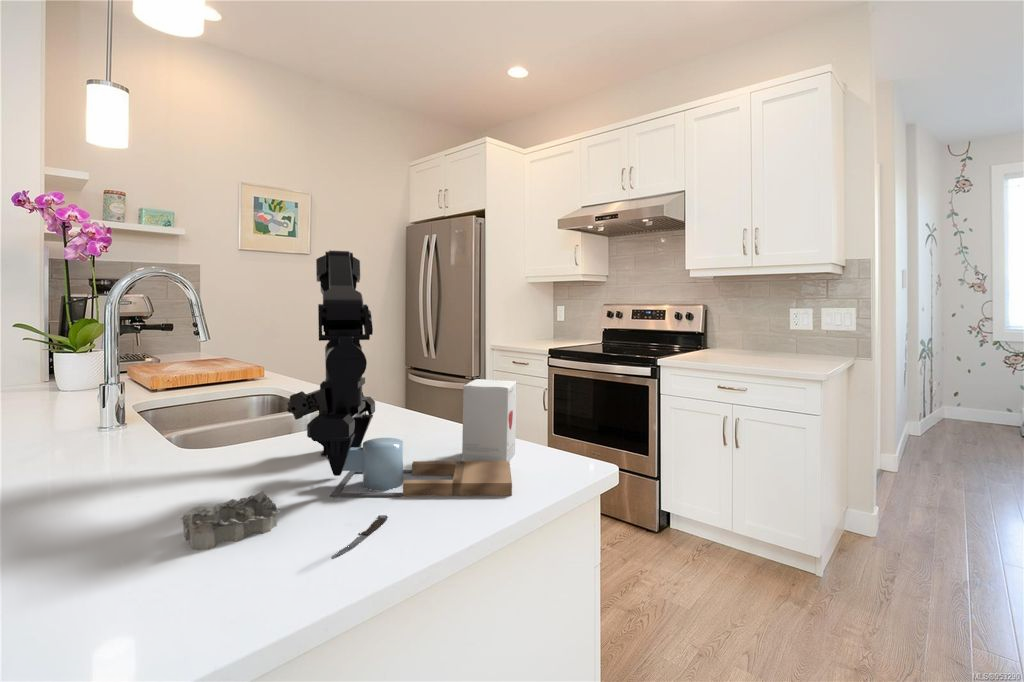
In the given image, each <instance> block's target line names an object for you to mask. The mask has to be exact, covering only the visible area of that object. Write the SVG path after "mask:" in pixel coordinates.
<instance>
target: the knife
mask: <svg viewBox="0 0 1024 682" xmlns="http://www.w3.org/2000/svg"><path fill="white" fill-rule="evenodd" d="M387 518H389V517H388V516H387V515H386V514H383V515H377V519H375V520H374V521H372V523H371V524H370V526H369V527H368V528H366V530H364V531H362V532H359V533H358V534H357V535H359V536H357V537H356V538H355V539H354V540H353V541H351V542H350V543H349V544H347V545H346V546H347V547H346V546H345V547H343V548H342V549H340V550H339V552H338V551H337V552H338V553H337V552H336V553H337V554H336V553H334V554H333V555H332V556H331V557H330V558H331V560H335V559H337V558H339V557H341V556H343V555H345V554H347V553H348V552H350V551H352V550H354V549H355V548H356V547H357V546H359V543H360V544H361V543H362V542H363V541H364V540H366V539H367V538H368V537H370V535H372V534H373V533H374V531H375V532H376V531H377V530H379V529H380V528H381V527H382V526H383V525H384V524H385V523H386V521H387V520H388V519H387ZM381 525H382V526H381ZM360 533H361V534H360ZM348 546H349V547H348ZM346 552H347V553H346Z"/></svg>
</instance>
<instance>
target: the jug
mask: <svg viewBox="0 0 1024 682" xmlns="http://www.w3.org/2000/svg"><path fill="white" fill-rule="evenodd" d="M403 442H404V441H403V440H402V439H400V438H396V437H377V438H372V439H368V440H366V441H364V442H362V446H361V447H350V450H349V453H348V456H347V459H346V462H345V465H344V468H343V471H342V472H349V471H363V473H362V485H363V488H364V487H365V489H366V488H367V489H366V490H369V489H371V490H370V491H374V490H384V491H390V490H389V489H391V490H394V489H393V488H395V489H397V488H399V487H401V486H403V482H404V473H403V470H404V459H403V458H404V455H403V454H404V453H403V452H404V449H403V448H404V444H403Z"/></svg>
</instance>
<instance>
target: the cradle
mask: <svg viewBox="0 0 1024 682" xmlns="http://www.w3.org/2000/svg"><path fill="white" fill-rule="evenodd" d="M510 463H511V462H510V461H462V460H461V461H457V460H456V461H455V460H454V461H453V460H452V461H451V460H449V461H448V460H447V461H445V460H444V461H442V460H441V461H440V460H439V461H438V460H437V461H436V460H435V461H433V460H432V461H429V460H428V461H427V460H426V461H425V460H424V461H421V460H419V461H415V460H413V461H412V463H411V470H412V473H411V475H412V476H453V478H452V479H403V484H402V496H403V497H405V496H407V497H410V496H418V497H420V496H422V495H423V496H426V495H428V496H430V495H435V496H512V494H513V480H512V471H511V464H510Z"/></svg>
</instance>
